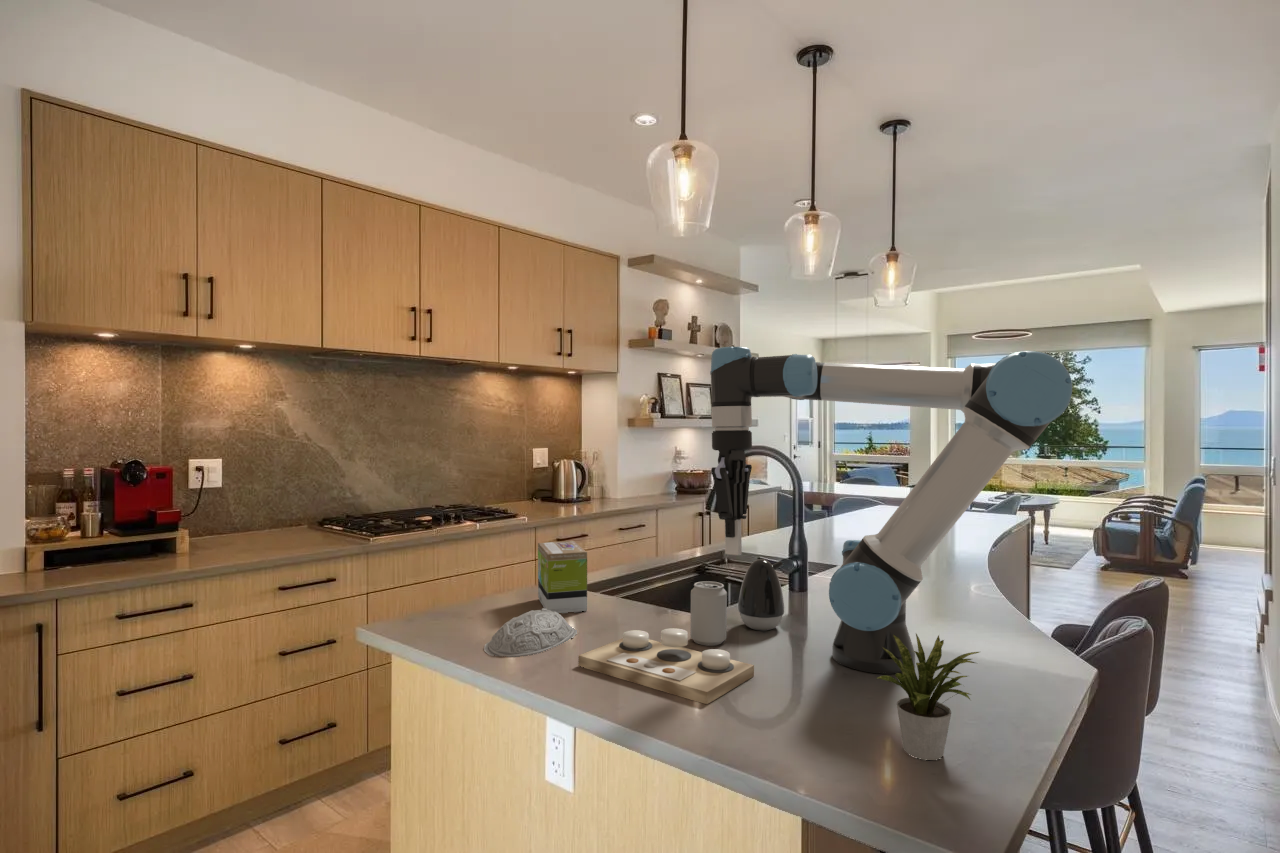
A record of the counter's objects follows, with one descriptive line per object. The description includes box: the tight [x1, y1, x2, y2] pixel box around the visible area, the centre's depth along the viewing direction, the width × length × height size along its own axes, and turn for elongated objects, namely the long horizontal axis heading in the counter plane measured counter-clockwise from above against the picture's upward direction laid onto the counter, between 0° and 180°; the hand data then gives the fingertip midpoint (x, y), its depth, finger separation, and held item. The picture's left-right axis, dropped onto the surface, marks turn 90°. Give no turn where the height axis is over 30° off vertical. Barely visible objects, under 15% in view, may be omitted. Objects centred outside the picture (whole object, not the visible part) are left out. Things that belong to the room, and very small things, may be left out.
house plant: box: [877, 633, 980, 761], centre depth 95 cm, size 14×14×16 cm
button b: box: [660, 627, 689, 648], centre depth 129 cm, size 5×5×2 cm
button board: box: [577, 637, 755, 705], centre depth 127 cm, size 28×16×2 cm, turn 53°
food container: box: [483, 607, 578, 658], centre depth 145 cm, size 16×25×7 cm, turn 156°
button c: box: [622, 629, 650, 649], centre depth 135 cm, size 5×5×2 cm
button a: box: [701, 648, 731, 670], centre depth 124 cm, size 5×5×2 cm
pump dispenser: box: [737, 558, 785, 632], centre depth 155 cm, size 10×10×15 cm
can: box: [689, 580, 728, 646], centre depth 144 cm, size 8×8×12 cm
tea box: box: [537, 540, 588, 614], centre depth 171 cm, size 15×10×15 cm
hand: (733, 553), depth 131 cm, fingers closed
